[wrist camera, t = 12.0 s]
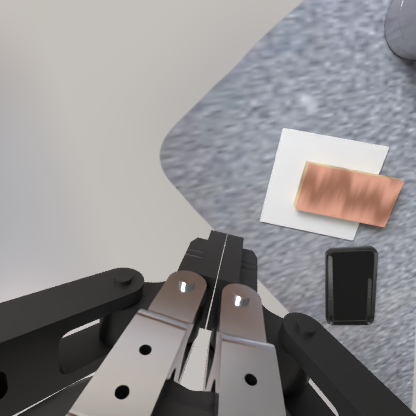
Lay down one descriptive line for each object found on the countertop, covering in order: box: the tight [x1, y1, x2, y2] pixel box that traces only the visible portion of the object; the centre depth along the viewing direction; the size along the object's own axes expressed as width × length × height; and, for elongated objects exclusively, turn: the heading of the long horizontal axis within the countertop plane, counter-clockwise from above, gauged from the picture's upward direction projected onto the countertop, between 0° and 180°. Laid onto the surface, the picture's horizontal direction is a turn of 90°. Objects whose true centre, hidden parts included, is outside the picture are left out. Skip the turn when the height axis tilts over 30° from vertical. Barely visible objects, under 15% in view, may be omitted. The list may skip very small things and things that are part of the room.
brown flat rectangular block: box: [293, 161, 404, 227], centre depth 41 cm, size 7×2×13 cm
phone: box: [325, 246, 378, 325], centre depth 48 cm, size 8×1×15 cm
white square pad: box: [260, 128, 389, 241], centre depth 43 cm, size 15×15×1 cm
